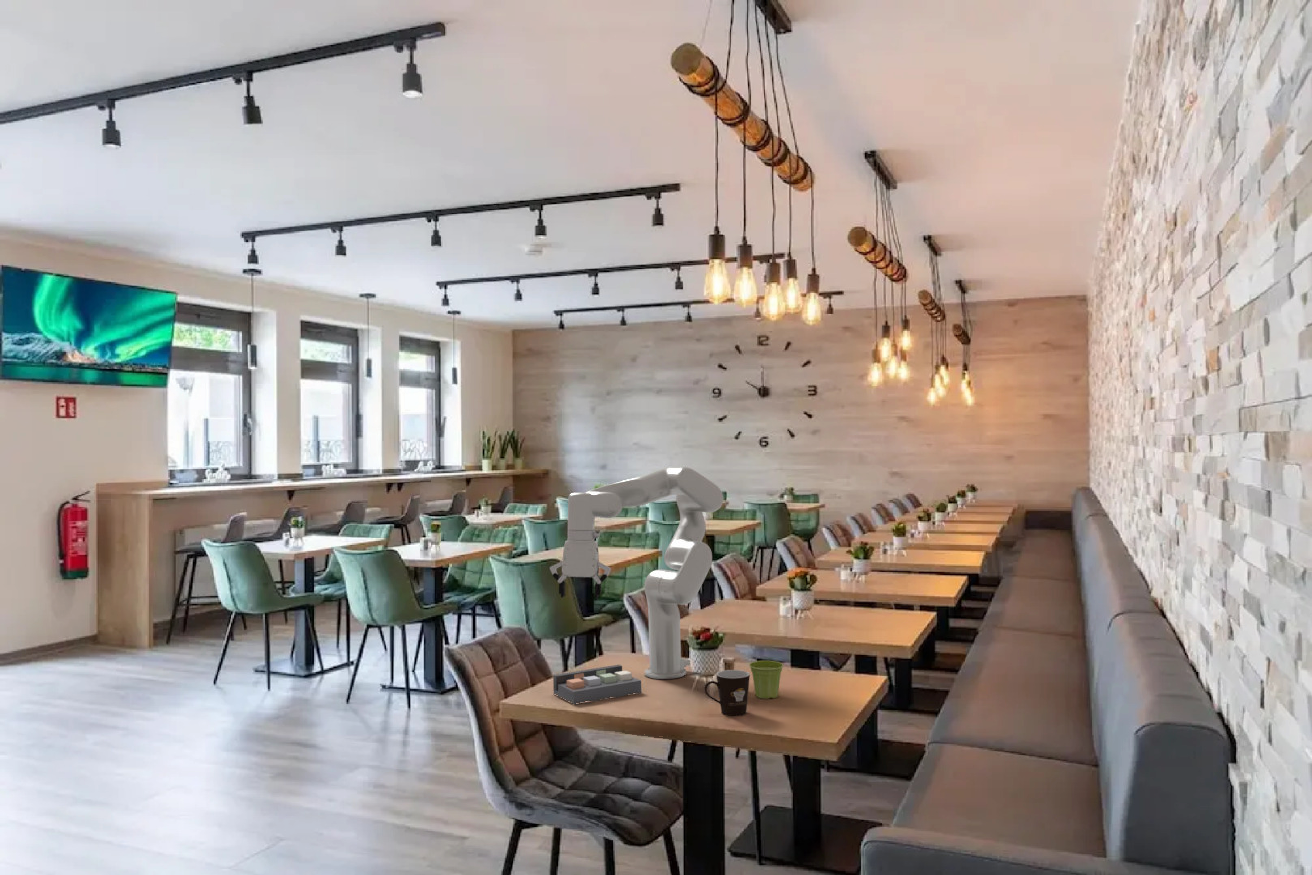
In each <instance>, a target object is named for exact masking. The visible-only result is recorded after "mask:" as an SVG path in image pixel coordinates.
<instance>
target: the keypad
mask: <svg viewBox="0 0 1312 875" xmlns="http://www.w3.org/2000/svg"><path fill="white" fill-rule="evenodd" d="M620 671H623V665H621V664H614V665H607V666H602V667H595V668H588V669H582V670H576V671H570V672H563V673H558V674H552V675H553V676H552V677H553V678H552V679H553V681H552V682H553V686H552V688H553V695H554V694H556V695H558V696H559V697H562V698H564V699H566V700H567V701H570V702H572V703H573V704H576V703H580V702H585V701H593V702H596V701H595V700H599V701H601V700H600V699H604V700H606V699H605V698H610V697H616V698H621V697H626V696H625V695H627V696H629V695H628V694H633V693H638V694H642V680H641V679H638V678H636V677H634V676H632V679H630V680H624V681H619V680H616V682H612V683H606V684H604V683H601V682H600V685H594V686H586V685H584V687H582V688H576V689H570V688H568V687H567V680H571V679H577V678H579V679H581V680H583V677H589V676H596V677H599V675H602V674H608V673H611V674H613V675H615V673H614V672H620ZM556 695H555V696H556ZM633 695H634V694H633ZM558 696H557V697H558ZM620 696H621V697H620ZM559 697H558V698H559ZM610 699H611V698H610ZM567 701H566V702H567ZM573 704H572V705H573ZM576 705H577V704H576Z"/></svg>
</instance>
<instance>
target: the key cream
mask: <svg viewBox="0 0 1312 875" xmlns="http://www.w3.org/2000/svg"><path fill="white" fill-rule="evenodd" d="M614 673H615V675H616V680H619V681H624V680H630V679H632V677H633V675H632V674H633V673H632V672H630V671H628V670H622V671H620V672H614Z"/></svg>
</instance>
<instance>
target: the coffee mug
mask: <svg viewBox="0 0 1312 875" xmlns="http://www.w3.org/2000/svg"><path fill="white" fill-rule="evenodd" d="M750 676H751V674H750V672H748V671H745V670H742V669H741V670H739V669H727V670H722V671H718V672H716V681H714V680H710V681H708V682H706V683H705V686H704V693H705V695H706V696H707V697H708V698H710V699H711V700H712V701H713V702H714V701H715V702H716V703H718V704H719V705H720V710H721V714H722V715H723V716H727V717H742V716H745V715H746V714H747V709H748V700H749V689H750V688H749V687H750ZM711 684H714V685H716V687H717V689H718V696H719V697H718V698H719V700H718V699H717V698H714V696H711V695H710V694H709V693H708V691H707V689H708V686H709V685H711Z"/></svg>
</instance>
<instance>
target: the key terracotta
mask: <svg viewBox="0 0 1312 875" xmlns="http://www.w3.org/2000/svg"><path fill="white" fill-rule="evenodd" d="M567 687H568V688H570V689H576V688H582V687H584V681H583V680H581V679H579V678H577V679H571V680H567Z"/></svg>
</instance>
